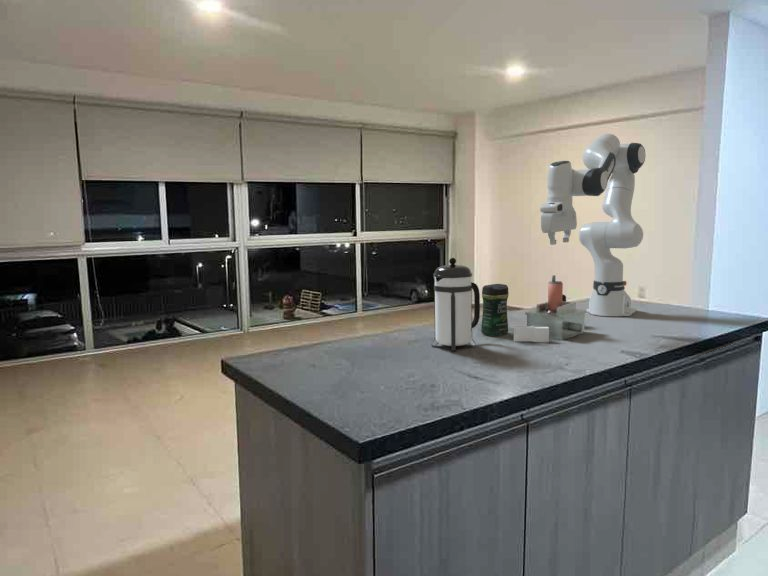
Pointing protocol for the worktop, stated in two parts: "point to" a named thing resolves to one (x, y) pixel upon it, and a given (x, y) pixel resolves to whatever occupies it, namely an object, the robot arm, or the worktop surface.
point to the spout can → (554, 294)
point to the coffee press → (454, 305)
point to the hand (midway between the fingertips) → (559, 243)
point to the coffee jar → (494, 310)
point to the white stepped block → (531, 333)
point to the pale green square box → (558, 320)
